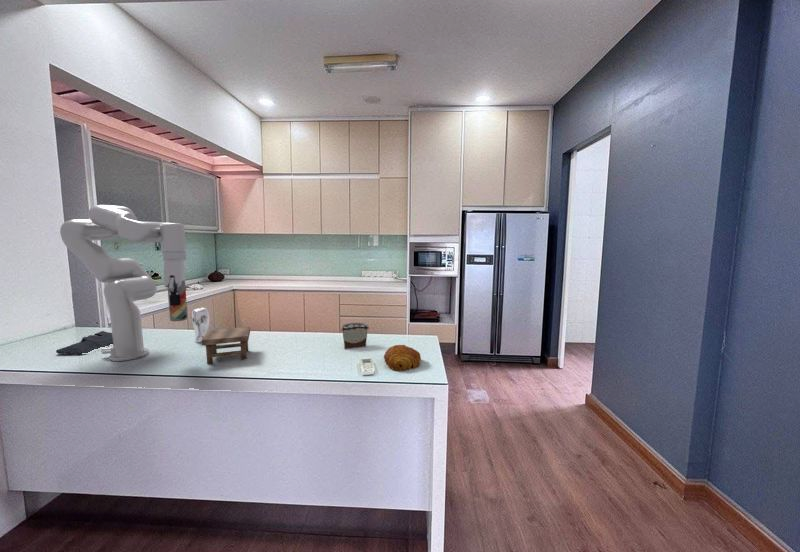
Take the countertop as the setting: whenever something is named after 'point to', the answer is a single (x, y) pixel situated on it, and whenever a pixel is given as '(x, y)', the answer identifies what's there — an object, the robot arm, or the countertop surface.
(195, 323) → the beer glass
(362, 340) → the food container
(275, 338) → the countertop surface
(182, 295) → the lotion bottle
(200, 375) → the countertop surface
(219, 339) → the walnut stool
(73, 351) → the dark slate chunk
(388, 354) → the croissant
